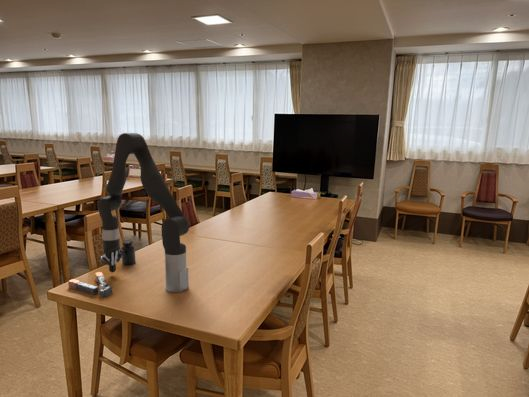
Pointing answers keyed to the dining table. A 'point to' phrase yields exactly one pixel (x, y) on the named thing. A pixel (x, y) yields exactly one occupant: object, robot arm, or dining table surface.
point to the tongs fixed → (90, 288)
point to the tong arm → (101, 279)
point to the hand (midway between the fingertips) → (112, 271)
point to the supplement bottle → (128, 253)
